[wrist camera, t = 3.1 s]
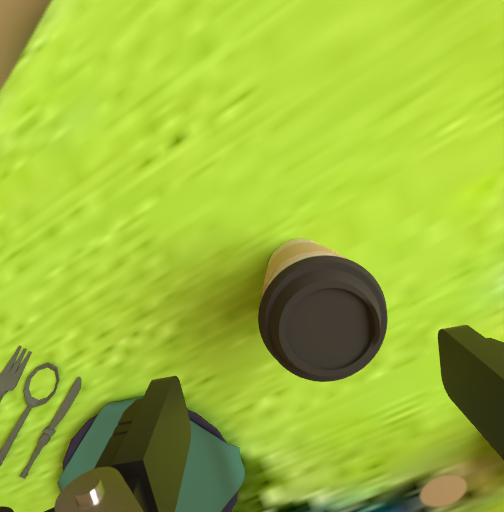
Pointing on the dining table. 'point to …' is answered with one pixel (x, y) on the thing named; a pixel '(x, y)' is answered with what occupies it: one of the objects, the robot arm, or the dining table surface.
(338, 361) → the coffee cup
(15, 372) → the cutlery set
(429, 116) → the dining table surface
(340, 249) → the dining table surface
